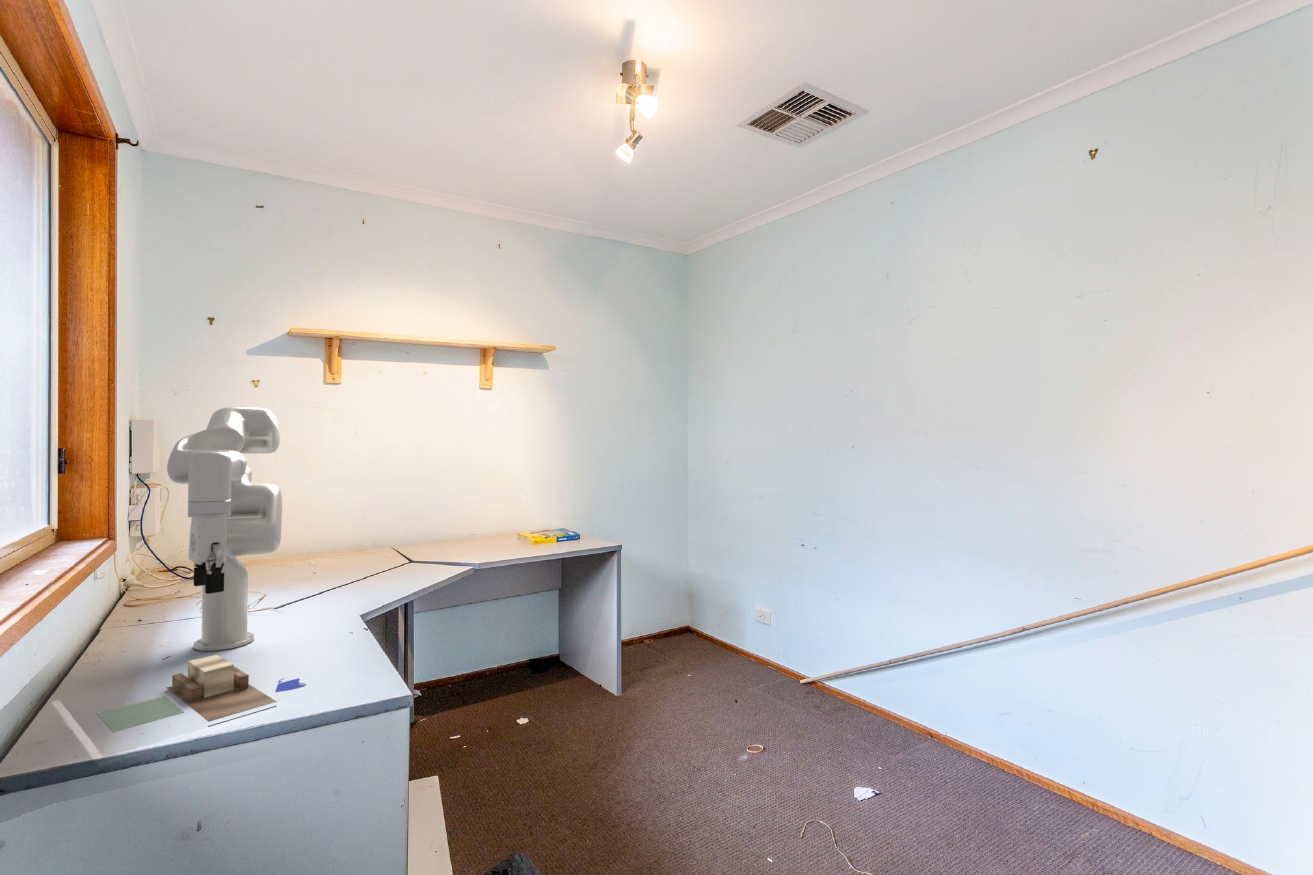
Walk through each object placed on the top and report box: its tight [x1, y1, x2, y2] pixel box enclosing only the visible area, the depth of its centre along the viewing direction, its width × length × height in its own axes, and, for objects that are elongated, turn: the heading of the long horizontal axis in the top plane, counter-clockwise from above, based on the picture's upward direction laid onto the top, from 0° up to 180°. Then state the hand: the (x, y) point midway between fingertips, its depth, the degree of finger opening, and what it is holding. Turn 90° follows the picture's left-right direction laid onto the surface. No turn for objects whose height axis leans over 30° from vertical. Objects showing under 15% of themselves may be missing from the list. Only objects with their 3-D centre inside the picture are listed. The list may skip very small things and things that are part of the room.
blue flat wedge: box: [275, 677, 308, 693], centre depth 130 cm, size 2×8×12 cm
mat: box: [97, 695, 185, 733], centre depth 113 cm, size 12×10×1 cm
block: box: [187, 654, 235, 698], centre depth 125 cm, size 10×5×5 cm, turn 52°
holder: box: [166, 666, 277, 728], centre depth 122 cm, size 25×11×4 cm, turn 52°
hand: (208, 588), depth 132 cm, fingers open, 9 cm apart
